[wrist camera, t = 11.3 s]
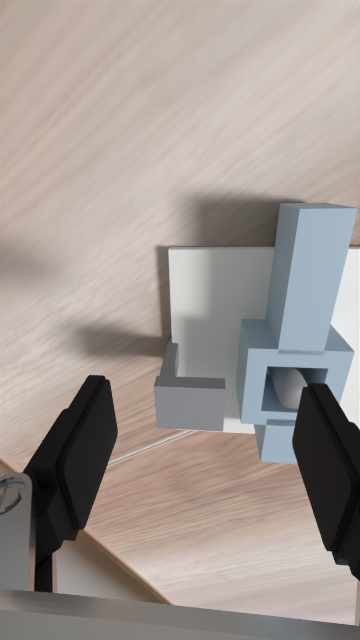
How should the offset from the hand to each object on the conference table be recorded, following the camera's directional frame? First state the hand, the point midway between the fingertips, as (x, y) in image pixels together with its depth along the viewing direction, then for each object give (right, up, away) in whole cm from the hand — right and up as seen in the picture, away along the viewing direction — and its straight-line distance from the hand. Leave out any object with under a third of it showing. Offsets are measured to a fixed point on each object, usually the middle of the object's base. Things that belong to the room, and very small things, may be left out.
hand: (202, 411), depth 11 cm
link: (+8, +2, +15) cm, 17 cm away
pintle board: (+8, 0, +17) cm, 19 cm away
